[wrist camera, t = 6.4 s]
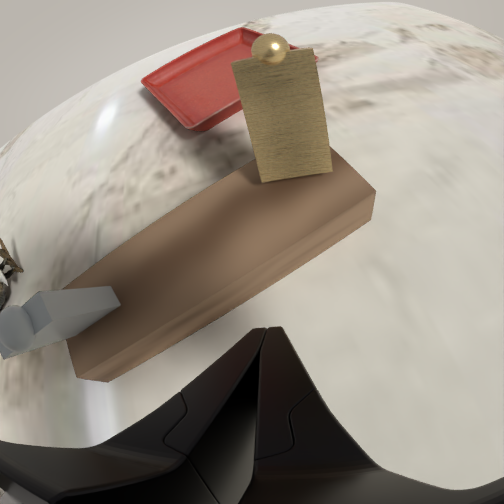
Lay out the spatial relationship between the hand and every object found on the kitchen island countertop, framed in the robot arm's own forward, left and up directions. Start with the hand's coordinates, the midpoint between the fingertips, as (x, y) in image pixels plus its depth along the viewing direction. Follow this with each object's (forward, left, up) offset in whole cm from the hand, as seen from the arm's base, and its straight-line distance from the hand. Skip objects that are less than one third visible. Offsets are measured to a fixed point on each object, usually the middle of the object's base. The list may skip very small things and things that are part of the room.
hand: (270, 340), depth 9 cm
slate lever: (+11, +11, -9) cm, 18 cm away
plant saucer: (+34, -11, -14) cm, 38 cm away
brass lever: (+11, -7, -9) cm, 16 cm away
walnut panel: (+11, +2, -13) cm, 17 cm away
